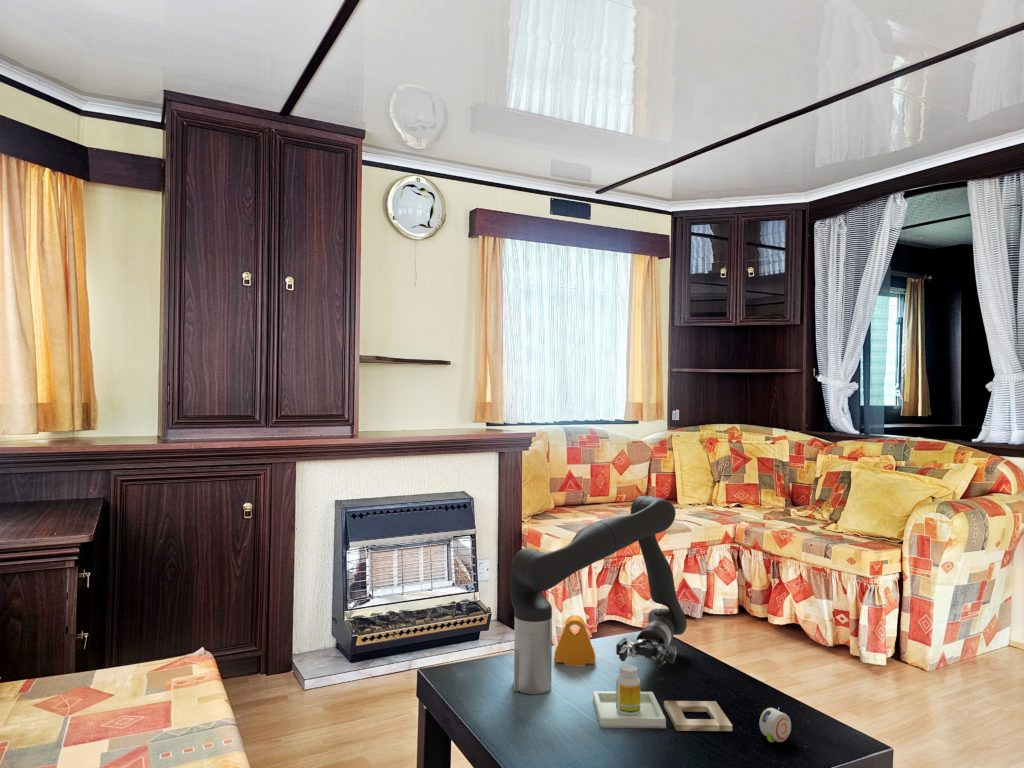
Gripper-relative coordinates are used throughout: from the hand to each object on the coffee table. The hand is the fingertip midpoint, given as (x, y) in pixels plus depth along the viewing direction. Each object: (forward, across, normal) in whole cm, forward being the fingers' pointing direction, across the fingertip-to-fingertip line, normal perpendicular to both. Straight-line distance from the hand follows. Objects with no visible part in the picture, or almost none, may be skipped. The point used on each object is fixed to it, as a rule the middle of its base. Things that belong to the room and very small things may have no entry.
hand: (639, 660), depth 166 cm
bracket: (-14, -21, +8) cm, 27 cm away
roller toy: (+9, +31, +8) cm, 33 cm away
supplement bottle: (+11, 0, +8) cm, 13 cm away
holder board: (+7, +14, +8) cm, 18 cm away
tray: (+11, 0, +8) cm, 14 cm away
